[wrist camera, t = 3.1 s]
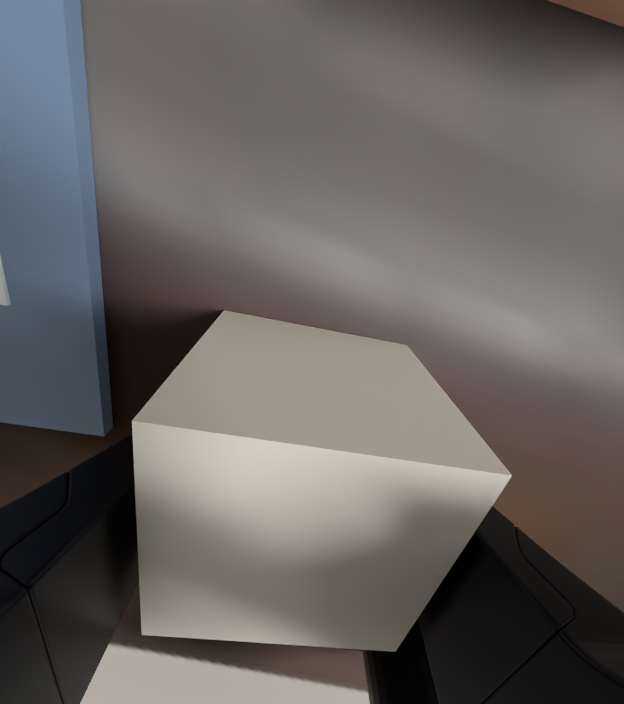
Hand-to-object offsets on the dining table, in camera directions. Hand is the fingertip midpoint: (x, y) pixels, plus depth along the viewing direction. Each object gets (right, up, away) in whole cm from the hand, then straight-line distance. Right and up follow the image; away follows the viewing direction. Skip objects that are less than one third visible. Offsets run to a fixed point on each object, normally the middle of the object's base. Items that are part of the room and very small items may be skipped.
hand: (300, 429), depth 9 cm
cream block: (0, +1, +1) cm, 1 cm away
